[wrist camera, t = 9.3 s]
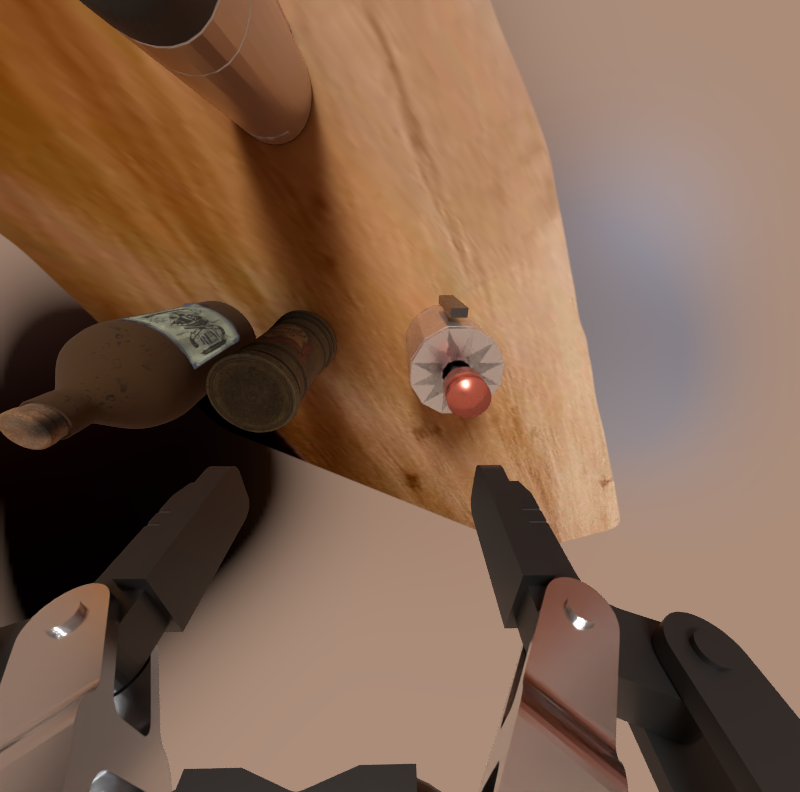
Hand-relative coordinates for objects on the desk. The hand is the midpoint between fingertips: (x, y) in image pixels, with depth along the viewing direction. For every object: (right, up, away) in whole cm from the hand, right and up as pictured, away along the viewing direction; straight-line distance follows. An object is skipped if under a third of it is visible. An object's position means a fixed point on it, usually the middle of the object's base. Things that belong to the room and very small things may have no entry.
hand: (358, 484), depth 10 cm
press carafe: (+8, +11, +33) cm, 35 cm away
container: (-12, +11, +33) cm, 37 cm away
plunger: (+8, +11, +31) cm, 34 cm away
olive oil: (-24, +12, +32) cm, 42 cm away
